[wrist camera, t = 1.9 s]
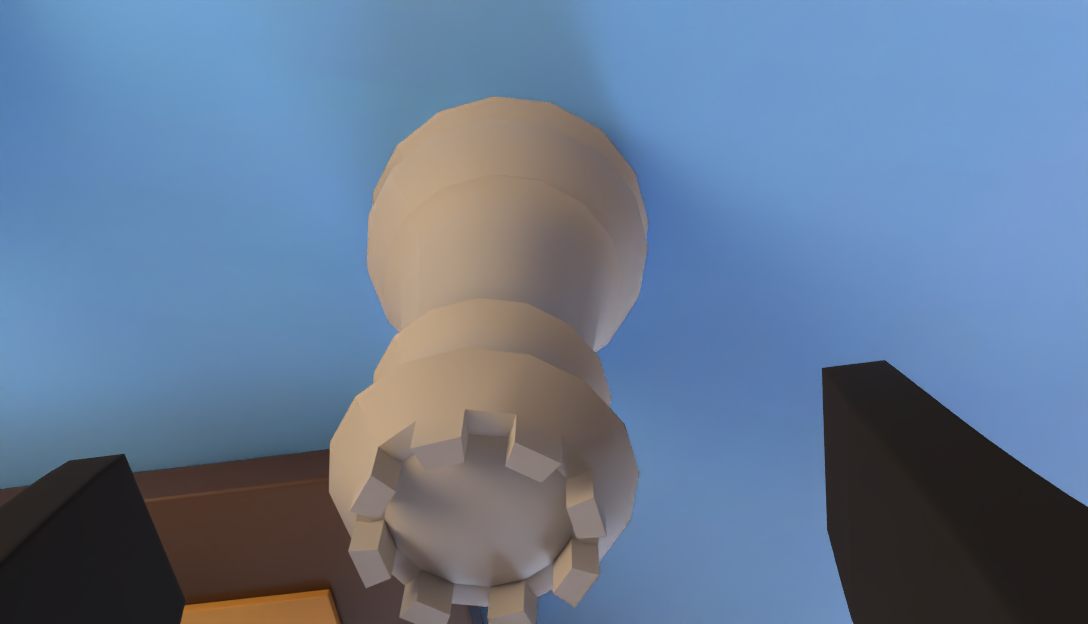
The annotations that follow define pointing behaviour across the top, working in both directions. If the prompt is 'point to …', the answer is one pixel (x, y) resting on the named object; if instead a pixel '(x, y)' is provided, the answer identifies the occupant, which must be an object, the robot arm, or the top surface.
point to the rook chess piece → (494, 364)
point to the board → (264, 545)
